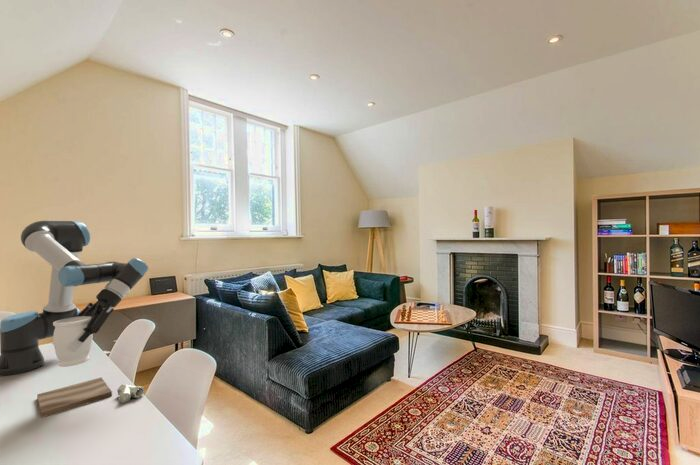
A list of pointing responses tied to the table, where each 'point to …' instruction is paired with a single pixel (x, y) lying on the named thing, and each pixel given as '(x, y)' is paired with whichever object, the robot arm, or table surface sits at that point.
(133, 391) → the pipe fitting
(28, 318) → the robot arm
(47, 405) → the walnut board
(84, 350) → the jar
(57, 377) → the table surface
